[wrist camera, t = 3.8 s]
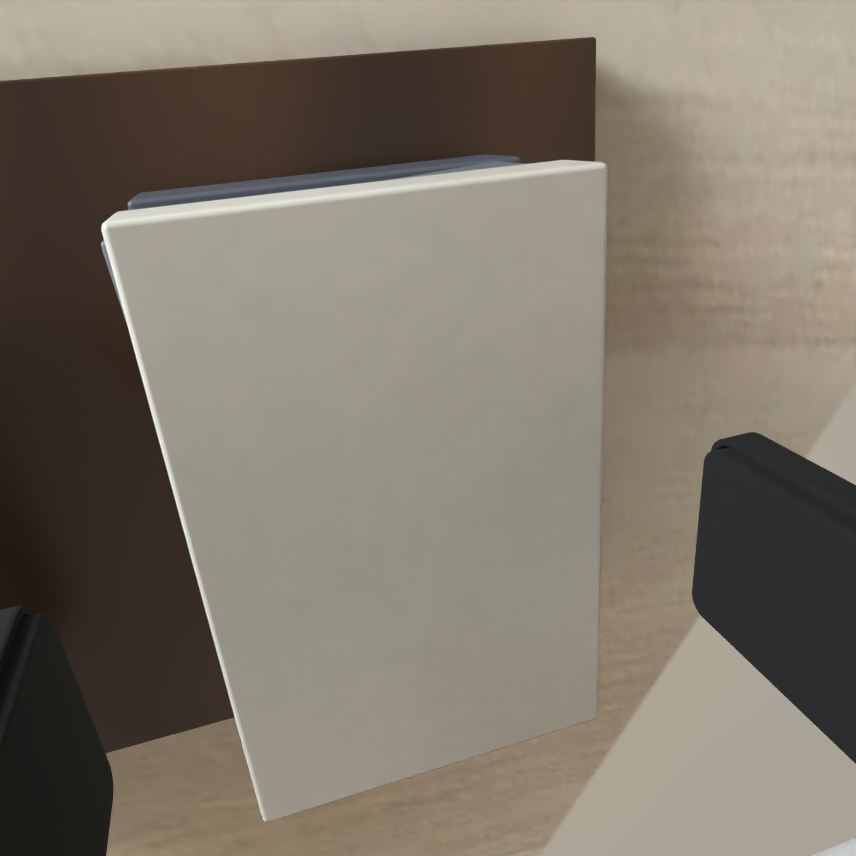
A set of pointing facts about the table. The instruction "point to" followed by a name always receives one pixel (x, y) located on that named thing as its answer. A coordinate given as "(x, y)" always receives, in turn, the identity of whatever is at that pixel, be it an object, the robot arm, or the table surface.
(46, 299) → the shelf board
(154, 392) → the white book
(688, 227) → the table surface
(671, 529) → the table surface
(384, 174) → the grey stack
